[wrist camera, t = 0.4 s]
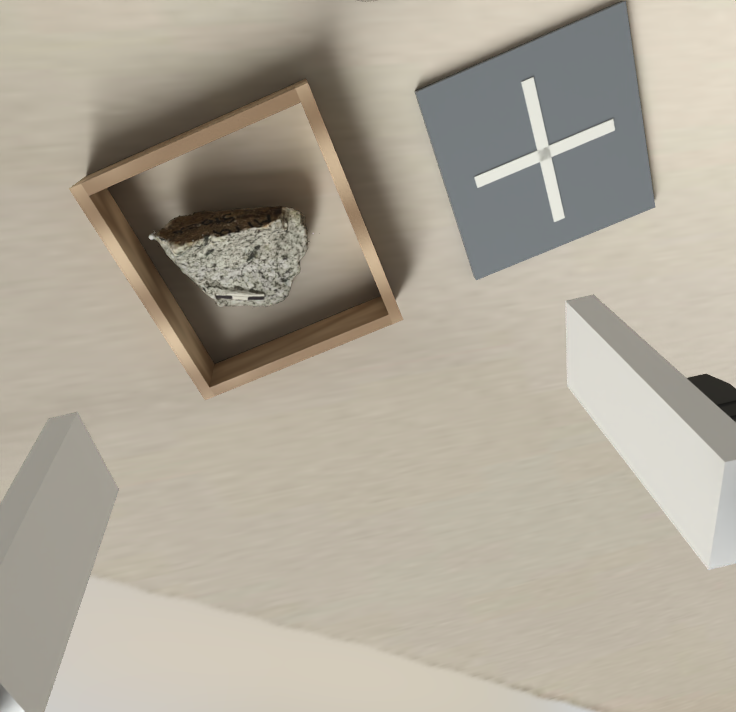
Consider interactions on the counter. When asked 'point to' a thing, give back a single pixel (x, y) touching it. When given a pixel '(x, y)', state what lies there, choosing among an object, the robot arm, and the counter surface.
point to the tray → (162, 302)
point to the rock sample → (238, 252)
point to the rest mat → (542, 141)
